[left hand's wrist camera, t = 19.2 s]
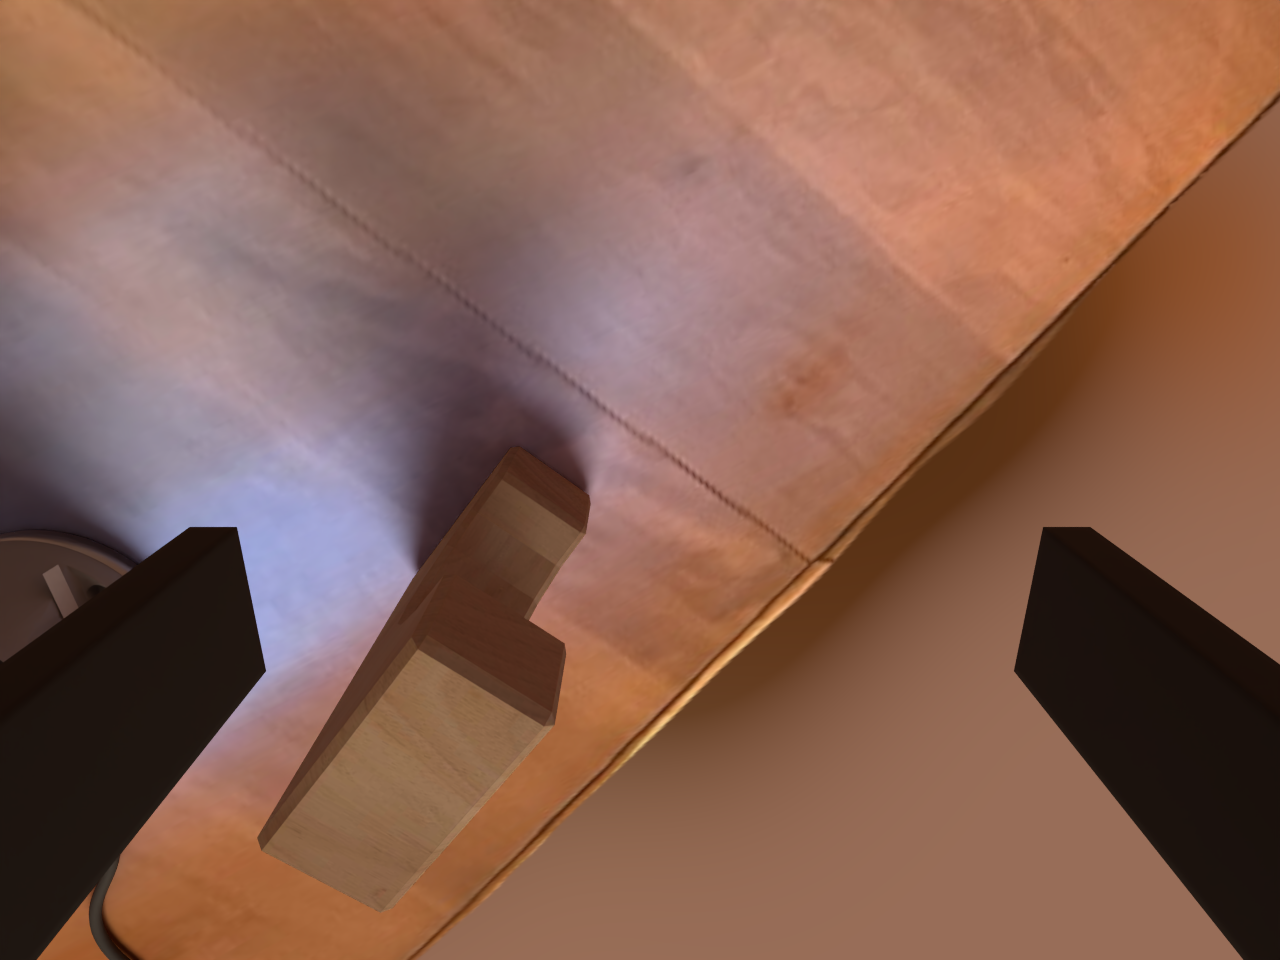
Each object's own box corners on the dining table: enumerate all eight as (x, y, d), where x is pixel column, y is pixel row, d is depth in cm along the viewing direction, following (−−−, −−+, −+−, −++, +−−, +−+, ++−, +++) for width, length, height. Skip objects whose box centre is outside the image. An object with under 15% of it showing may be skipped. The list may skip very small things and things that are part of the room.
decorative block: (516, 439, 42) (416, 632, 23) (597, 499, 43) (565, 728, 24) (408, 578, 45) (242, 848, 26) (487, 630, 46) (382, 924, 27)
